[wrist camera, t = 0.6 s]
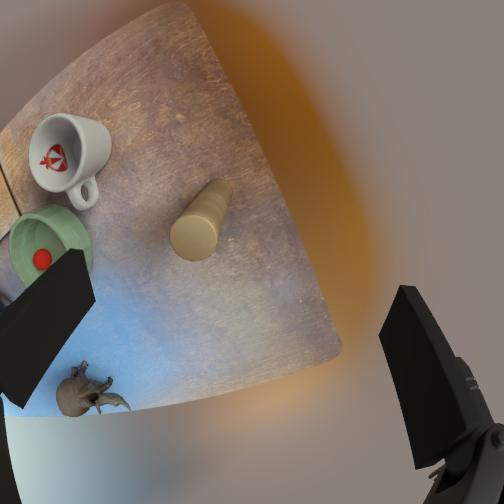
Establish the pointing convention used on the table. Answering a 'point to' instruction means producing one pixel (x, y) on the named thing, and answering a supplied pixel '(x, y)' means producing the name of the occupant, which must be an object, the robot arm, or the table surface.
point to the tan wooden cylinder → (201, 222)
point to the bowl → (46, 239)
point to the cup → (69, 156)
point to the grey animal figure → (84, 394)
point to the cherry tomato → (42, 259)
